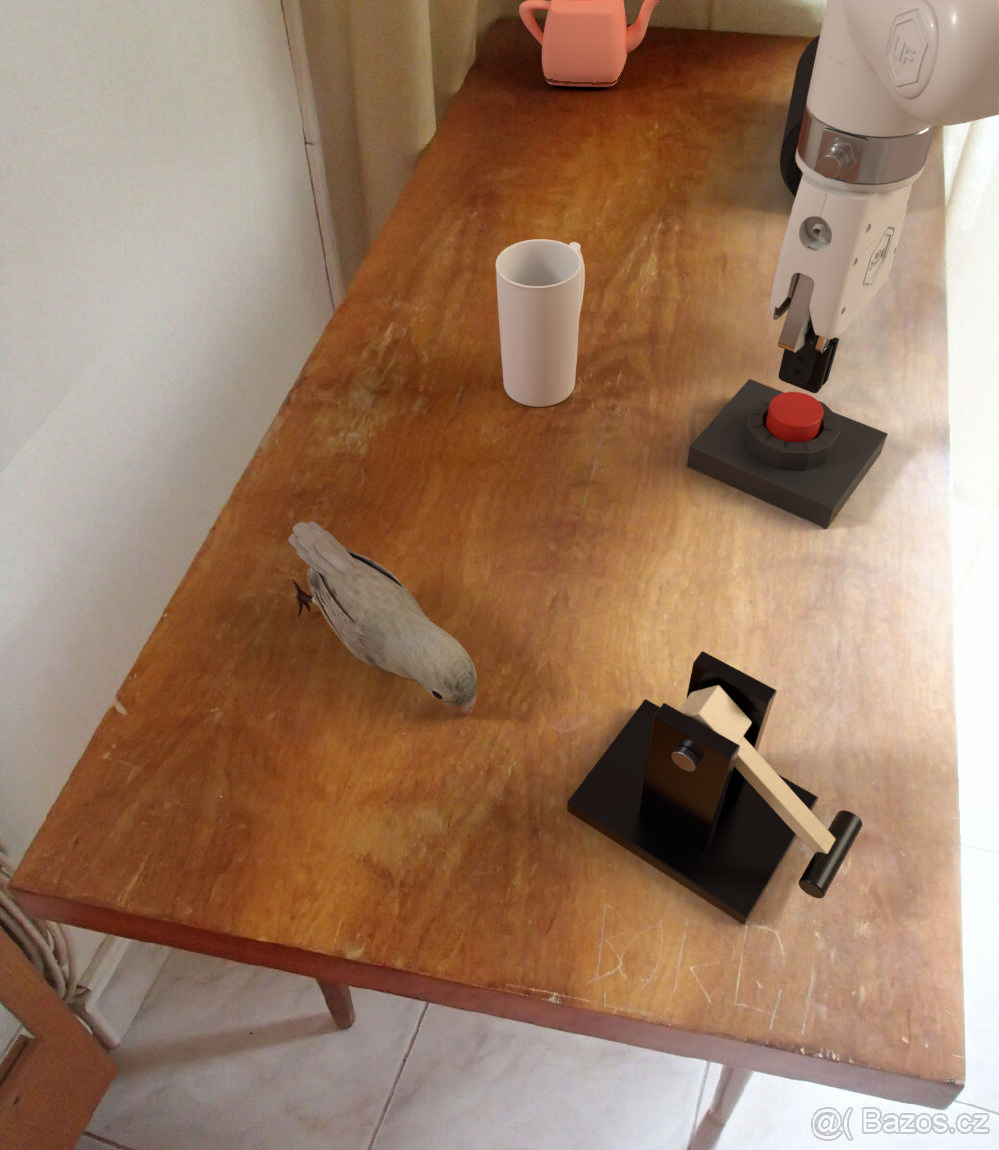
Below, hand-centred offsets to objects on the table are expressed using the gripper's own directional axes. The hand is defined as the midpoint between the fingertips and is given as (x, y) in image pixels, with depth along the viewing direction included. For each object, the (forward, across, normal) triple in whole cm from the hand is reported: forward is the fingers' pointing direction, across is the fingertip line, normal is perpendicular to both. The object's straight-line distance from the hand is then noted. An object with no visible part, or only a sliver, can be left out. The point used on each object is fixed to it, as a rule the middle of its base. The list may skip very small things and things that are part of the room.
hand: (802, 380), depth 73 cm
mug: (+8, -2, +21) cm, 23 cm away
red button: (+4, 0, 0) cm, 4 cm away
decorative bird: (+8, -33, +13) cm, 36 cm away
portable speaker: (+8, +46, +18) cm, 50 cm away
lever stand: (+8, -31, -9) cm, 33 cm away
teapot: (+8, +50, +51) cm, 72 cm away
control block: (+8, 0, 0) cm, 8 cm away
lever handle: (+1, -31, -12) cm, 33 cm away
